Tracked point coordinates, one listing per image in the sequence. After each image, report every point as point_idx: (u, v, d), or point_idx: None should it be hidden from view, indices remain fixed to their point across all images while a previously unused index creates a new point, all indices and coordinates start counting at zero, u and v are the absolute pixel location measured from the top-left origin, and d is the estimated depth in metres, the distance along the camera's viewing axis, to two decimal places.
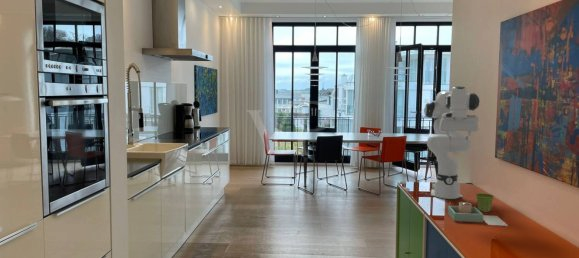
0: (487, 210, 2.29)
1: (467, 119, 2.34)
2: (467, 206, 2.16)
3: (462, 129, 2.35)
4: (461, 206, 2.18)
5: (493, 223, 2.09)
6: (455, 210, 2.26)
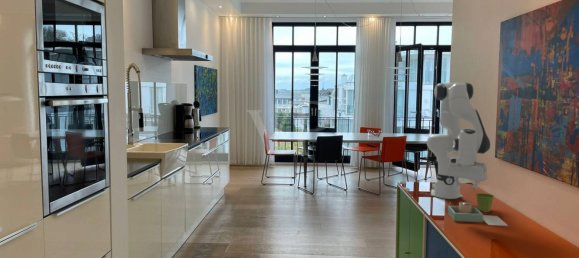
0: (487, 210, 2.29)
1: (472, 167, 2.13)
2: (467, 206, 2.16)
3: (468, 176, 2.15)
4: (461, 206, 2.18)
5: (493, 223, 2.09)
6: (455, 210, 2.26)
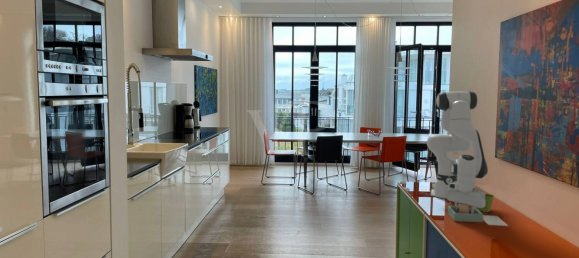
0: (487, 210, 2.29)
1: (471, 193, 2.14)
2: (467, 206, 2.16)
3: (466, 202, 2.17)
4: (461, 206, 2.18)
5: (493, 223, 2.09)
6: (455, 210, 2.26)
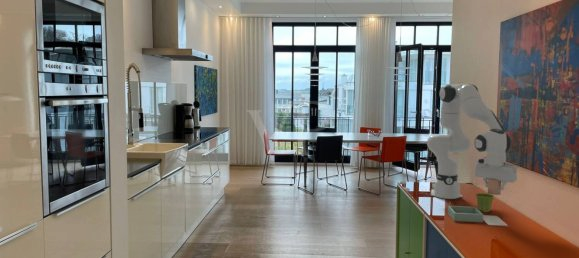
0: (487, 210, 2.29)
1: (502, 168, 2.08)
2: (497, 181, 2.10)
3: (496, 177, 2.10)
4: (491, 181, 2.11)
5: (493, 223, 2.09)
6: (455, 210, 2.26)
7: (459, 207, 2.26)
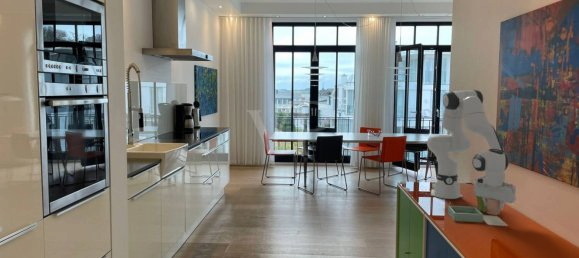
0: None
1: (501, 188, 2.09)
2: (496, 201, 2.11)
3: (495, 197, 2.11)
4: (490, 201, 2.12)
5: (493, 223, 2.09)
6: (455, 210, 2.26)
7: (459, 207, 2.26)
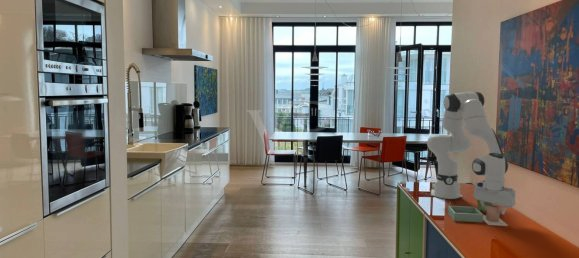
0: None
1: (500, 192, 2.09)
2: (495, 208, 2.11)
3: (495, 201, 2.11)
4: (489, 208, 2.13)
5: (493, 223, 2.09)
6: (455, 210, 2.26)
7: (459, 207, 2.26)
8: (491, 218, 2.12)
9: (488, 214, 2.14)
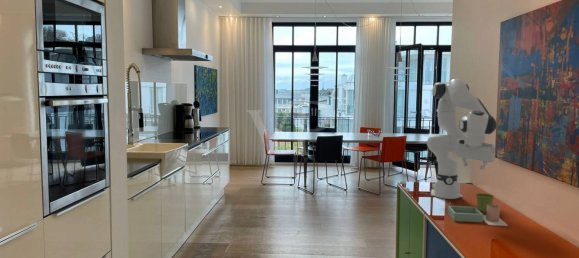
0: None
1: (481, 148, 2.17)
2: (495, 208, 2.11)
3: (476, 157, 2.19)
4: (489, 208, 2.13)
5: (493, 223, 2.09)
6: (455, 210, 2.26)
7: (459, 207, 2.26)
8: (491, 218, 2.12)
9: (488, 214, 2.14)
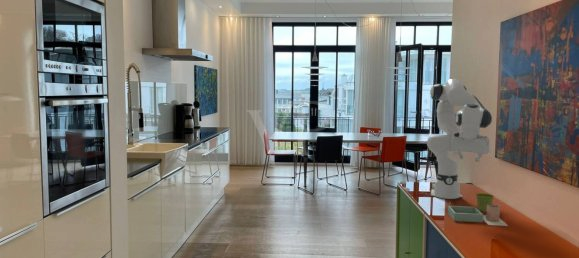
0: None
1: (475, 140, 2.19)
2: (495, 208, 2.11)
3: (470, 150, 2.21)
4: (489, 208, 2.13)
5: (493, 223, 2.09)
6: (455, 210, 2.26)
7: (459, 207, 2.26)
8: (491, 218, 2.12)
9: (488, 214, 2.14)
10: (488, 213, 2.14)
